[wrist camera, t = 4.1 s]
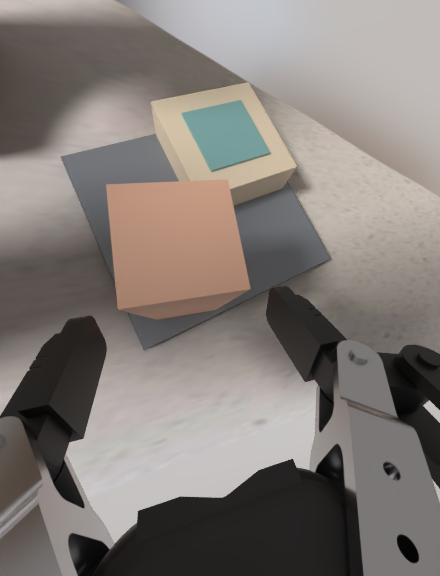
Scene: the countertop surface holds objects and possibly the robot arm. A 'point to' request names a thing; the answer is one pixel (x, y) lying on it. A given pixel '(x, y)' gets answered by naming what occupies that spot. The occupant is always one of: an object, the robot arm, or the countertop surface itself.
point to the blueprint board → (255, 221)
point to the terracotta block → (175, 247)
